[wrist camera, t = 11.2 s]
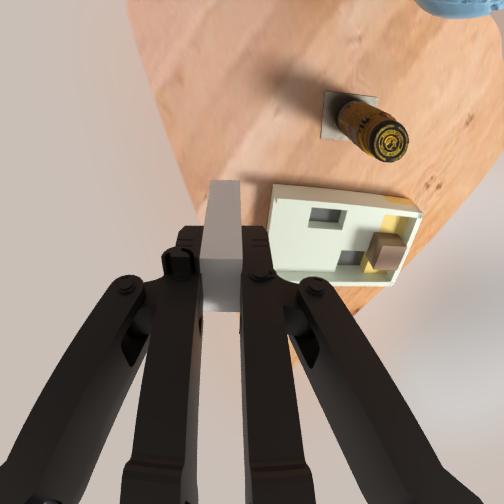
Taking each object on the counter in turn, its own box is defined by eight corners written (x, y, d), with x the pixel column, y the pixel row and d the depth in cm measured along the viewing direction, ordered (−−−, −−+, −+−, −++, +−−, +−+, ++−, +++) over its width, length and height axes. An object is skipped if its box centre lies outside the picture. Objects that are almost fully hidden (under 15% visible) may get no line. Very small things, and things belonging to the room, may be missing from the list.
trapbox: (273, 183, 46) (277, 198, 42) (410, 199, 49) (423, 213, 45) (261, 265, 56) (263, 284, 52) (383, 269, 59) (392, 286, 55)
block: (374, 231, 50) (382, 245, 47) (397, 233, 50) (407, 247, 47) (365, 255, 53) (373, 269, 50) (388, 256, 53) (397, 270, 50)
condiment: (372, 142, 43) (409, 172, 33) (320, 138, 42) (347, 167, 33) (377, 97, 39) (420, 116, 29) (324, 91, 38) (355, 105, 29)
